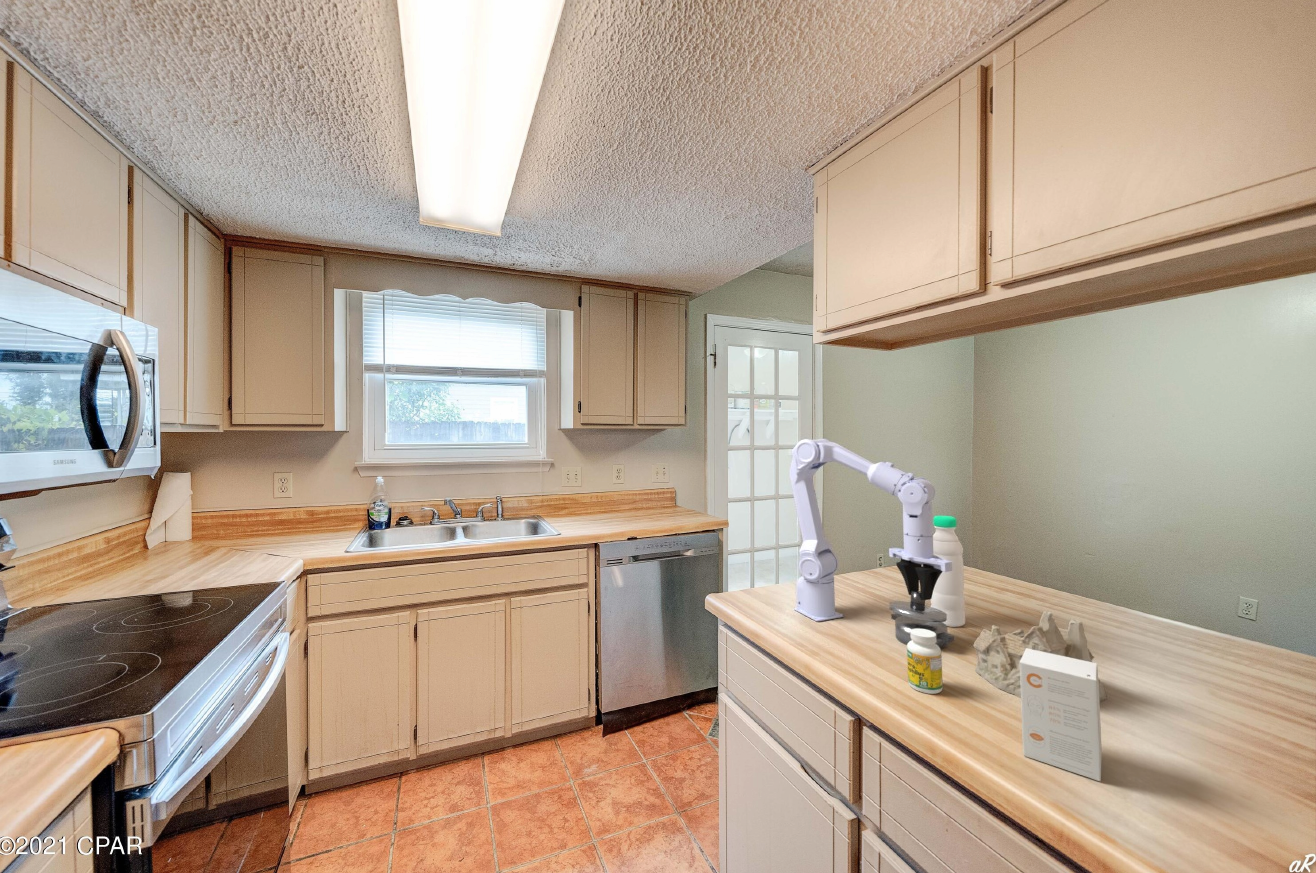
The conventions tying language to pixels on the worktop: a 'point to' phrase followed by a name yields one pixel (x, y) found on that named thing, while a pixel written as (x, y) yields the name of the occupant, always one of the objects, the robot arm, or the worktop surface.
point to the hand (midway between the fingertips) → (919, 596)
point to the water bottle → (952, 582)
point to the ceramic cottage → (1007, 650)
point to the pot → (907, 624)
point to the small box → (1061, 712)
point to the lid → (917, 609)
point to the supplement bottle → (924, 662)
